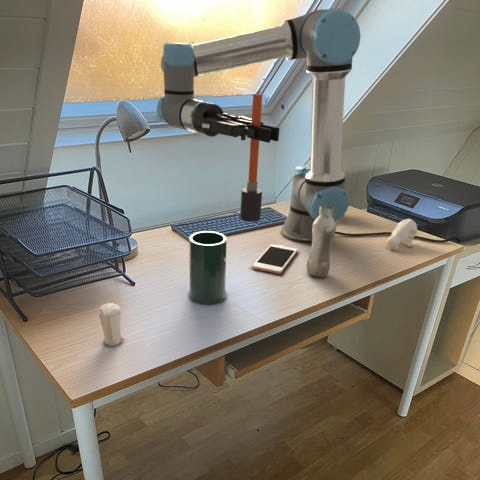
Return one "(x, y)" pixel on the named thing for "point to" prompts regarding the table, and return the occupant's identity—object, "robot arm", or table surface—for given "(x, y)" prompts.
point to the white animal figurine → (402, 234)
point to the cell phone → (274, 259)
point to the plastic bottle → (321, 242)
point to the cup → (207, 267)
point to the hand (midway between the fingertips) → (273, 135)
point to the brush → (252, 172)
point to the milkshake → (110, 323)
